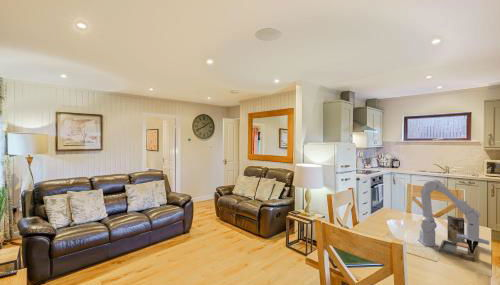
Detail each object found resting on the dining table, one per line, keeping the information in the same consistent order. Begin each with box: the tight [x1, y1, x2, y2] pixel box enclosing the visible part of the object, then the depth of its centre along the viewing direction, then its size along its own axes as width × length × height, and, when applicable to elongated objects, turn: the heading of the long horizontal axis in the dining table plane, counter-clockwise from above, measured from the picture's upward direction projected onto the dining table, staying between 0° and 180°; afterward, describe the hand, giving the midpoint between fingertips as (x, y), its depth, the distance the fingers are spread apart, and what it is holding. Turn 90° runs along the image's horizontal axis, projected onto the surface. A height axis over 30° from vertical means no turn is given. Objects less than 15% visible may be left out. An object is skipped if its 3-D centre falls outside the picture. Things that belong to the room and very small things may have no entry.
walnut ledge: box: [453, 242, 476, 262], centre depth 150 cm, size 9×20×2 cm, turn 135°
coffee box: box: [447, 215, 466, 243], centre depth 168 cm, size 9×6×16 cm
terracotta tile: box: [457, 242, 469, 248], centre depth 154 cm, size 5×5×2 cm
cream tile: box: [457, 246, 468, 254], centre depth 148 cm, size 5×5×2 cm
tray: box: [438, 239, 458, 256], centre depth 156 cm, size 7×18×2 cm, turn 136°
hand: (472, 252), depth 145 cm, fingers closed
